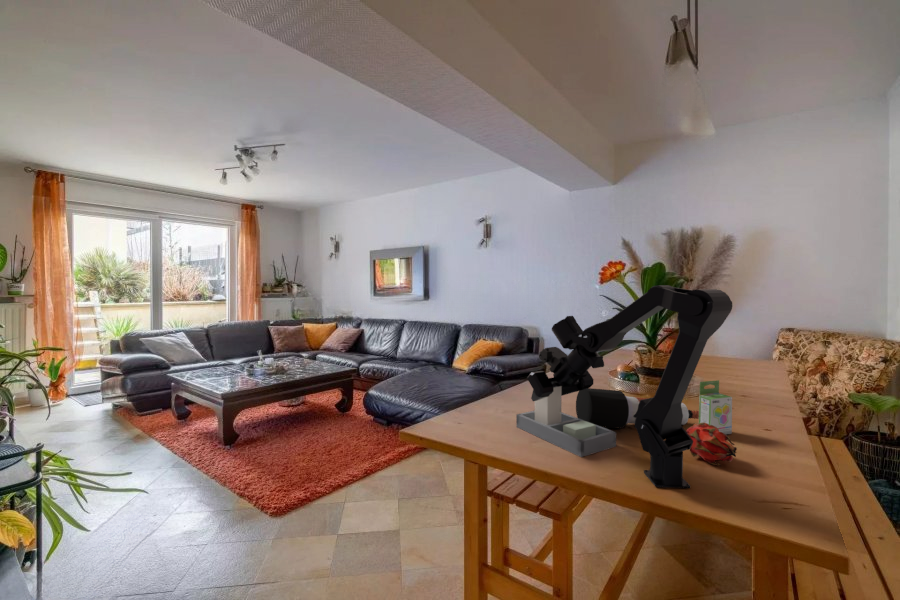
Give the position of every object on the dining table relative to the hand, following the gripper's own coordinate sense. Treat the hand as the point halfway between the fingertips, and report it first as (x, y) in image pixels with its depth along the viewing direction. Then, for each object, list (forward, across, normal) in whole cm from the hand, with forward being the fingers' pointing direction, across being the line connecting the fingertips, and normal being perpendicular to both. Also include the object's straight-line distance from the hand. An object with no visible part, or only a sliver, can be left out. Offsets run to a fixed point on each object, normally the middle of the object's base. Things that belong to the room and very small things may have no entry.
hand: (545, 397), depth 110 cm
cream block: (+5, 0, +6) cm, 8 cm away
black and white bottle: (-2, -24, +15) cm, 29 cm away
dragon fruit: (-17, -18, +30) cm, 39 cm away
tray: (+2, 0, +11) cm, 11 cm away
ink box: (-12, -36, +24) cm, 45 cm away
